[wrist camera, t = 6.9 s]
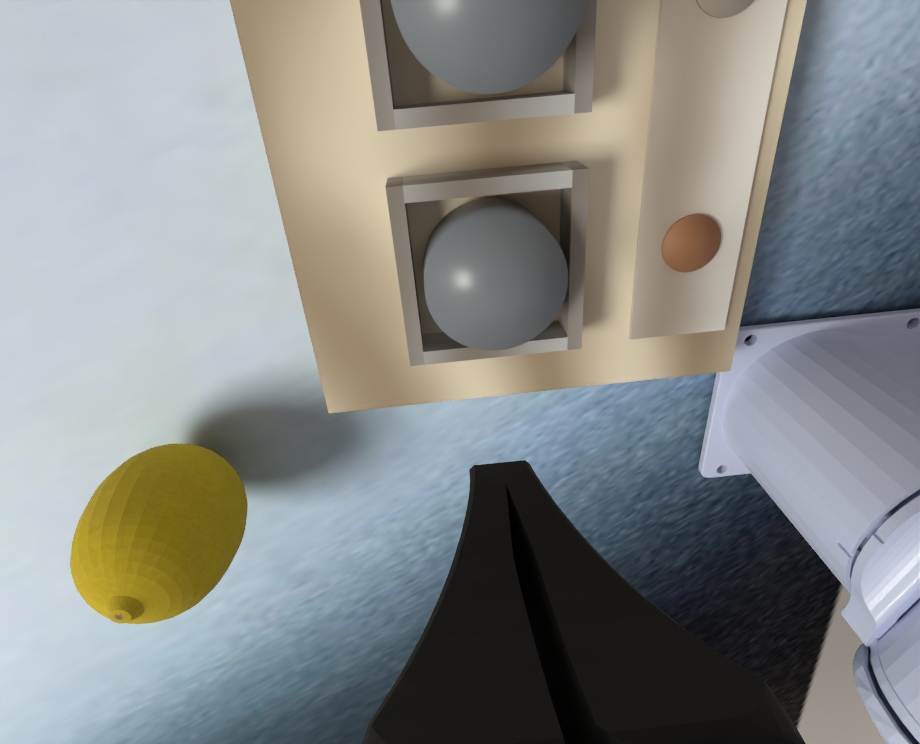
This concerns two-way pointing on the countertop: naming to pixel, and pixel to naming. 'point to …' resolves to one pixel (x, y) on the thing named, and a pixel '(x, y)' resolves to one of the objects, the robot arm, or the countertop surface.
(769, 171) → the button board
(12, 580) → the countertop surface
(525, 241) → the button
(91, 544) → the lemon
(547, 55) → the button mid
